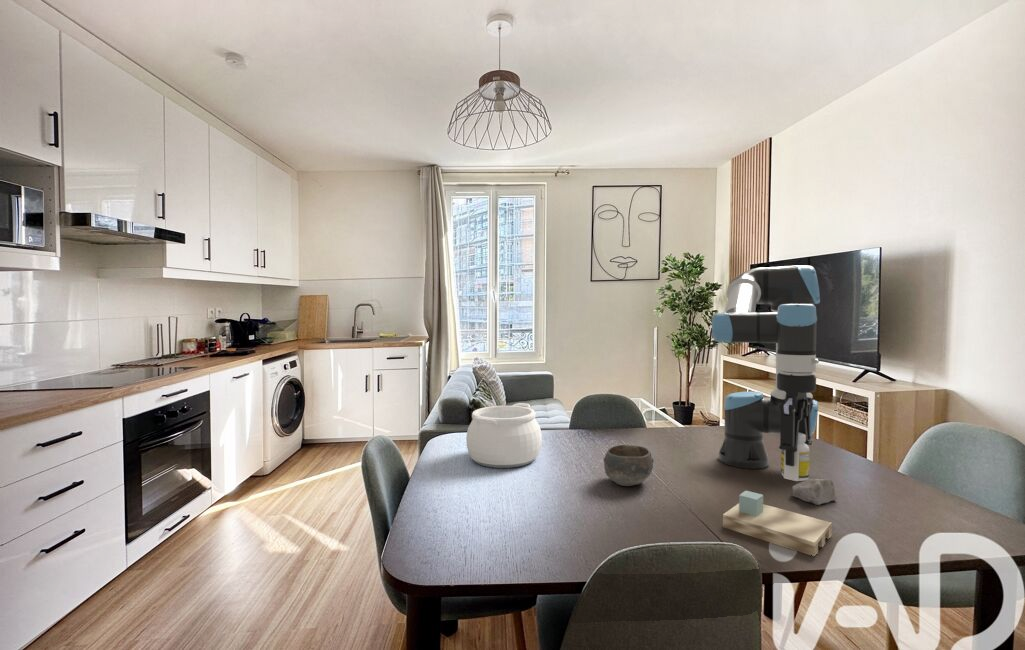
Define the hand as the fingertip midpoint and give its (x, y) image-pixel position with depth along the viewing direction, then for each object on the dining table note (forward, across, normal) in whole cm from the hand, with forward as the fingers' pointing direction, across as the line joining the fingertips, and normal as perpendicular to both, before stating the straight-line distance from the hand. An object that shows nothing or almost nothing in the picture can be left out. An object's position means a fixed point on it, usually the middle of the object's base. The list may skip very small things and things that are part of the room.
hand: (795, 475), depth 107 cm
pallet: (+14, 0, +4) cm, 15 cm away
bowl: (+14, +2, +45) cm, 47 cm away
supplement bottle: (+1, 0, 0) cm, 1 cm away
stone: (+14, +27, +3) cm, 31 cm away
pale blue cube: (+11, 0, +10) cm, 15 cm away
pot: (+14, -8, +89) cm, 90 cm away
